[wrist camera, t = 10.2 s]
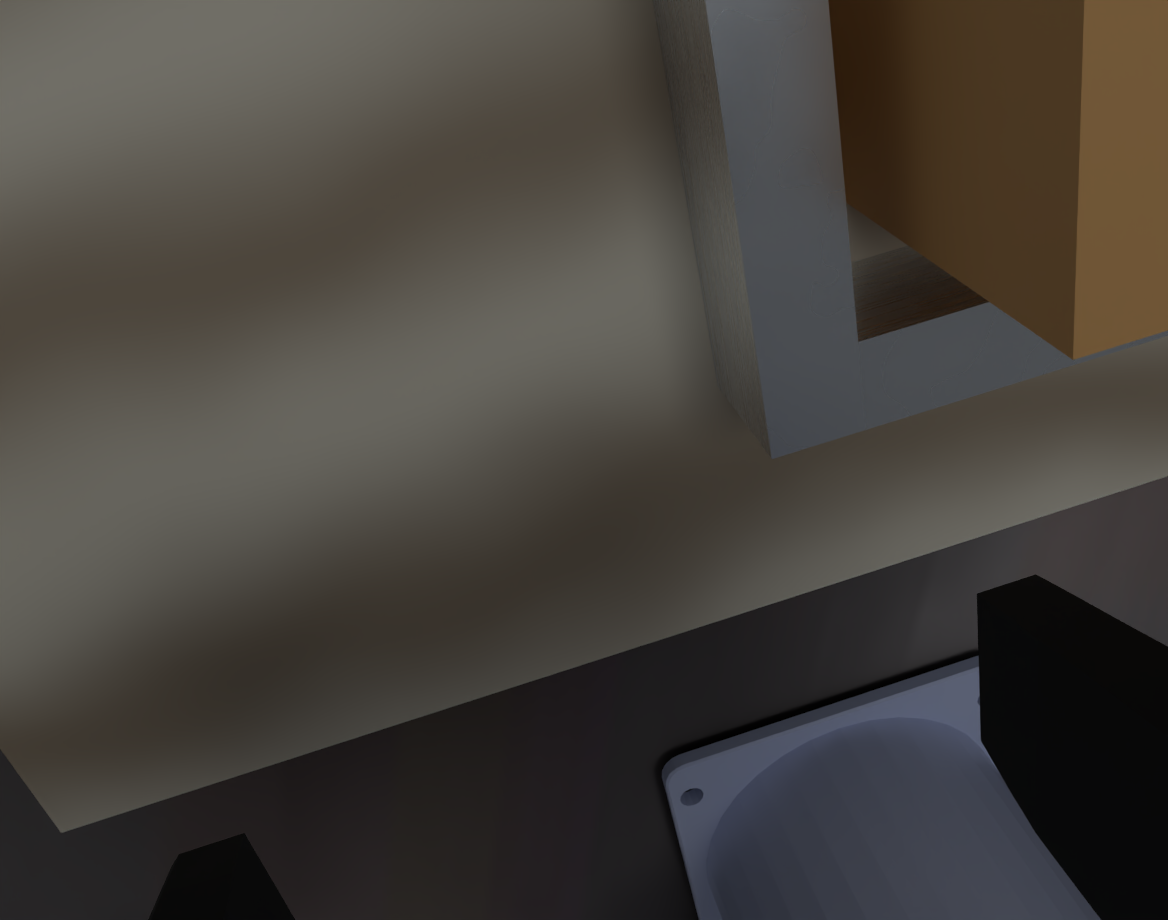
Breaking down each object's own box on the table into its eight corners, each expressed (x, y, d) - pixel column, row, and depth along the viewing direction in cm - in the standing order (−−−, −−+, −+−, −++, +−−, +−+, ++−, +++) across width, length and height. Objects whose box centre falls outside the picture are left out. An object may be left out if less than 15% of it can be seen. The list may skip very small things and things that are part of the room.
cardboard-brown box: (1079, 134, 18) (1395, 259, 12) (846, 202, 17) (1073, 360, 12) (1090, -226, 15) (1499, -254, 10) (815, -153, 15) (1088, -140, 9)
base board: (1556, 316, 23) (1604, 335, 22) (71, 791, 21) (60, 832, 20) (1934, -961, 14) (2042, -1014, 13) (-732, -359, 11) (-815, -372, 10)
